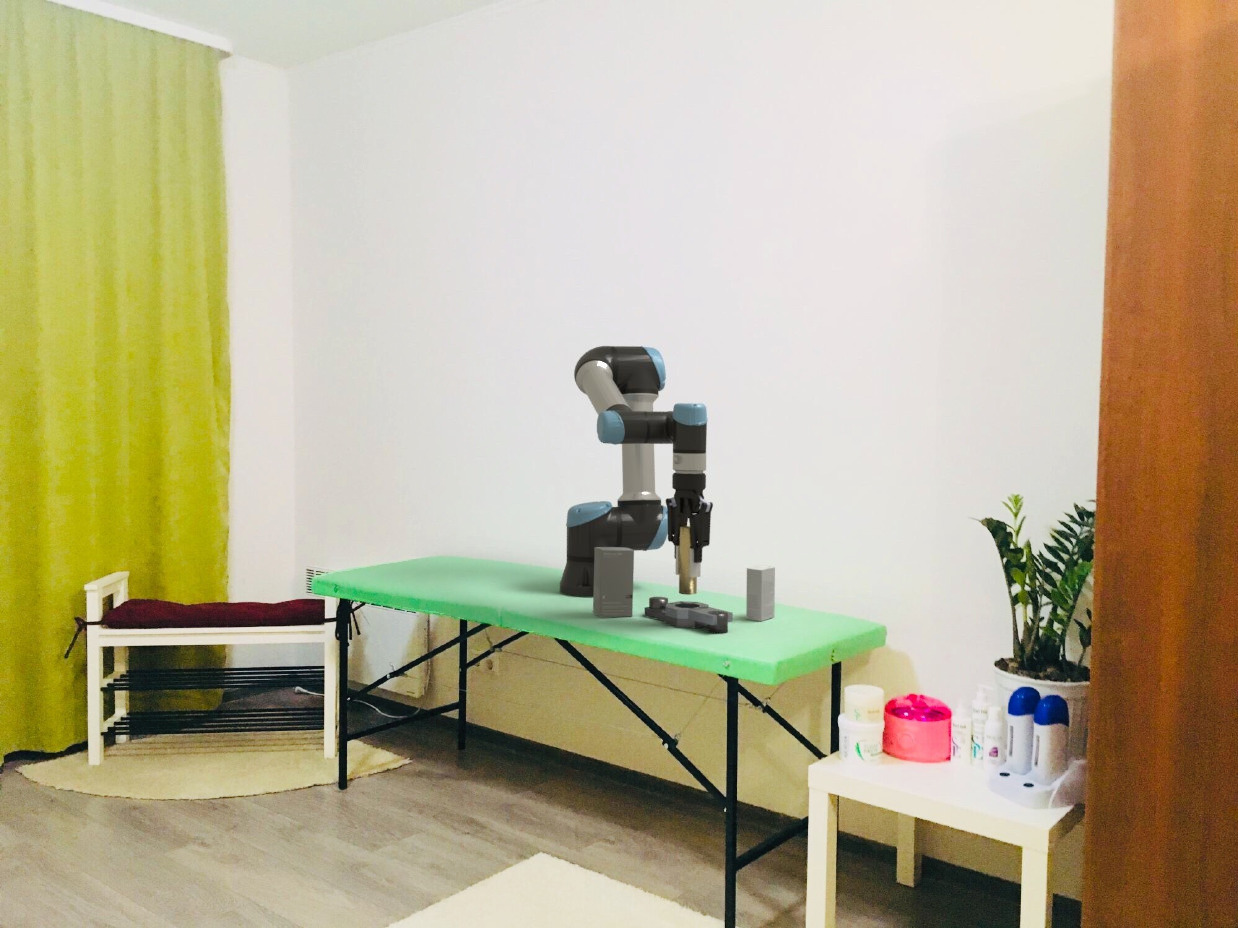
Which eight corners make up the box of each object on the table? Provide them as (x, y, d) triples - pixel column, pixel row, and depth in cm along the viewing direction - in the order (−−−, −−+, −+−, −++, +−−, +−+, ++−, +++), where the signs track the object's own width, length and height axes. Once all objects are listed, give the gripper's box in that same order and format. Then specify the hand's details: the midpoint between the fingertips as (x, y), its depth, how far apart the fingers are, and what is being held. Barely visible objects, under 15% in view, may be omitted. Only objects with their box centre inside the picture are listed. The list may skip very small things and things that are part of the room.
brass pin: (675, 592, 231) (676, 526, 230) (688, 590, 234) (689, 525, 233) (687, 595, 228) (687, 528, 227) (700, 593, 231) (701, 527, 230)
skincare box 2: (759, 614, 241) (760, 564, 240) (774, 617, 238) (775, 566, 238) (745, 619, 236) (746, 567, 236) (761, 621, 234) (762, 569, 233)
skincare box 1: (599, 618, 235) (600, 550, 234) (591, 612, 242) (592, 545, 241) (634, 616, 238) (635, 549, 237) (626, 610, 245) (626, 544, 244)
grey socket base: (636, 616, 238) (636, 599, 238) (667, 611, 244) (667, 594, 244) (708, 635, 219) (708, 617, 219) (740, 630, 225) (740, 612, 225)
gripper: (652, 470, 234) (650, 571, 235) (702, 474, 220) (701, 582, 222) (676, 469, 238) (675, 568, 240) (727, 473, 225) (726, 579, 226)
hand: (687, 575), depth 231 cm, fingers closed on brass pin, 4 cm apart
